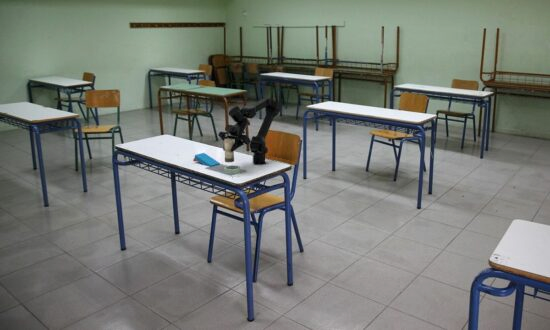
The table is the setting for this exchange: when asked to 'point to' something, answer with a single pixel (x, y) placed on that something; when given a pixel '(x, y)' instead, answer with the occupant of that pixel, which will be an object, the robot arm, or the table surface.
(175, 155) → the table surface
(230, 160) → the birch peg
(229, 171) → the thin grey base plate
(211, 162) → the blue long block
